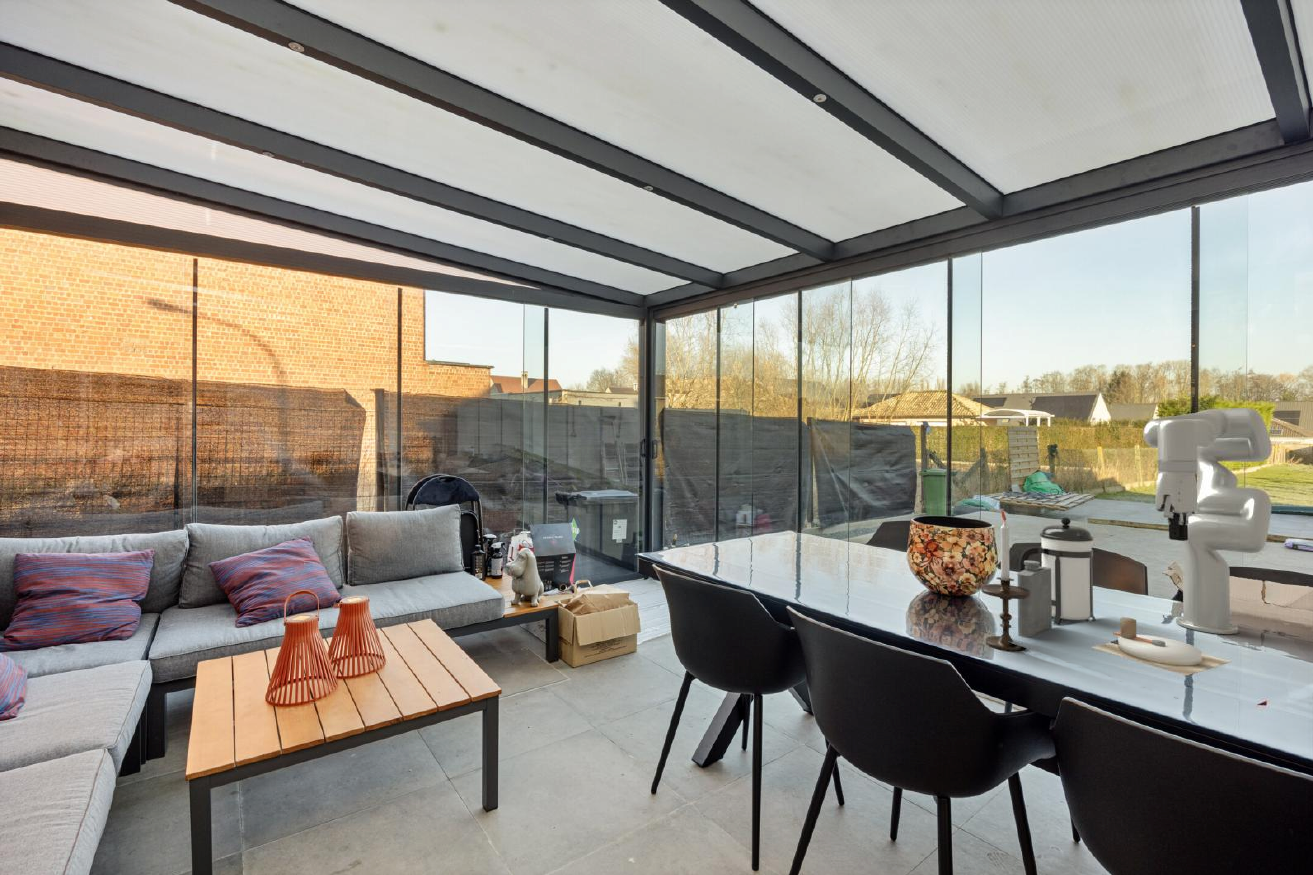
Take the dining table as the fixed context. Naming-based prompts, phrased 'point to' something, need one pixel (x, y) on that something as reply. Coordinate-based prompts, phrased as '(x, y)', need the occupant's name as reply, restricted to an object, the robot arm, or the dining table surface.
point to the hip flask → (1035, 600)
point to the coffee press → (1067, 569)
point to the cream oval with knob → (1155, 646)
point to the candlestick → (1005, 596)
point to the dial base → (1181, 669)
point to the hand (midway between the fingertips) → (1178, 539)
